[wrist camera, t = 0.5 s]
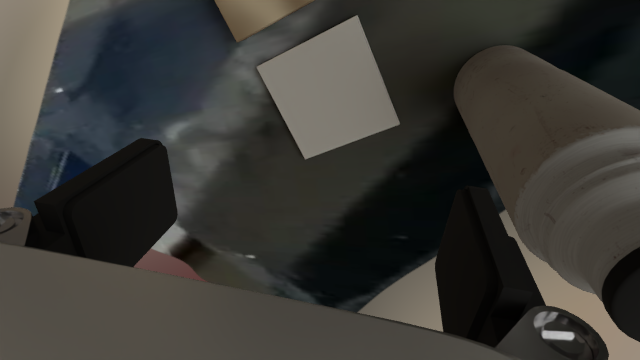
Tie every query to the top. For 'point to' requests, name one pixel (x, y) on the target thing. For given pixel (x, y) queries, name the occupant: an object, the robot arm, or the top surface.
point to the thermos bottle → (561, 170)
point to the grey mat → (330, 89)
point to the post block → (255, 14)
